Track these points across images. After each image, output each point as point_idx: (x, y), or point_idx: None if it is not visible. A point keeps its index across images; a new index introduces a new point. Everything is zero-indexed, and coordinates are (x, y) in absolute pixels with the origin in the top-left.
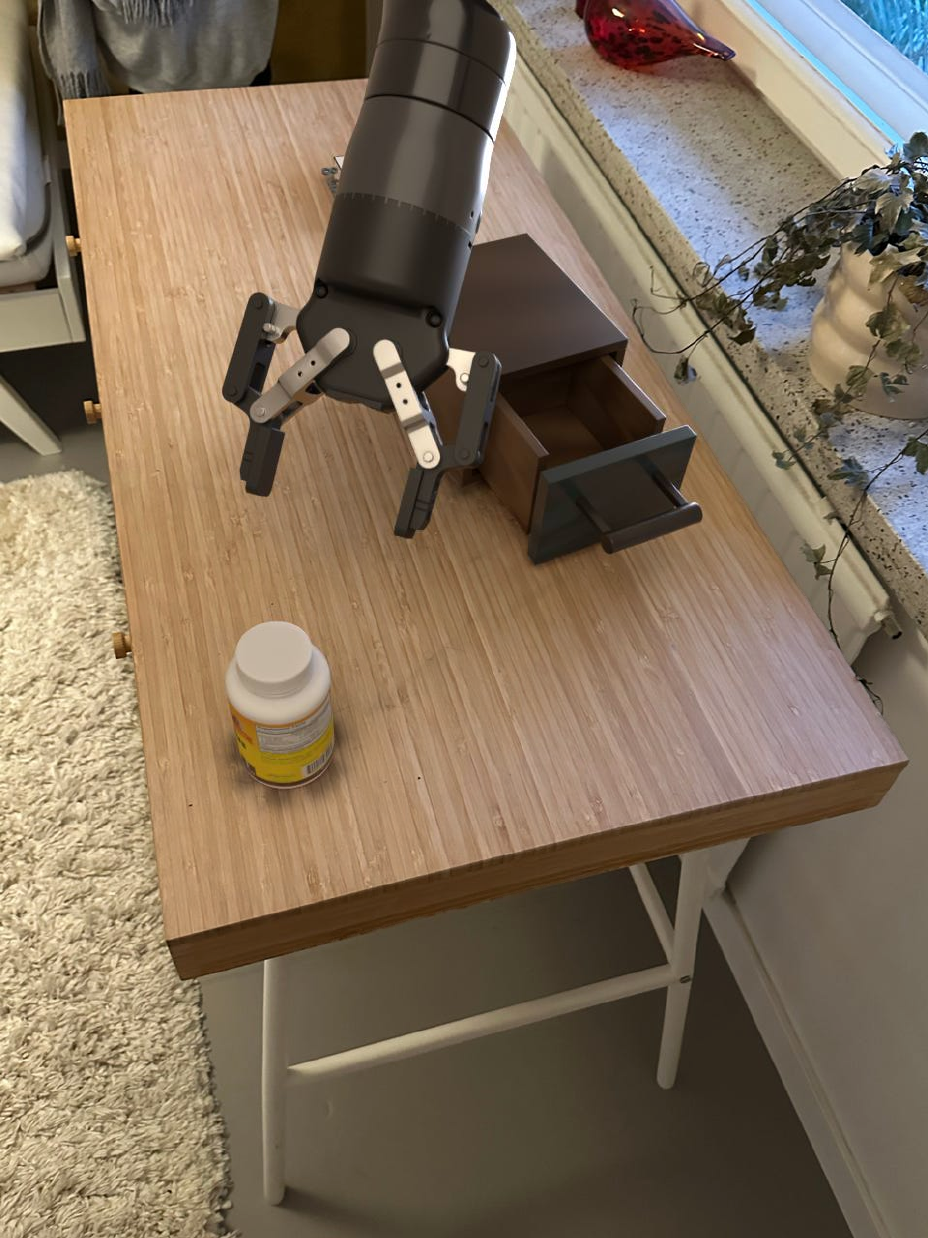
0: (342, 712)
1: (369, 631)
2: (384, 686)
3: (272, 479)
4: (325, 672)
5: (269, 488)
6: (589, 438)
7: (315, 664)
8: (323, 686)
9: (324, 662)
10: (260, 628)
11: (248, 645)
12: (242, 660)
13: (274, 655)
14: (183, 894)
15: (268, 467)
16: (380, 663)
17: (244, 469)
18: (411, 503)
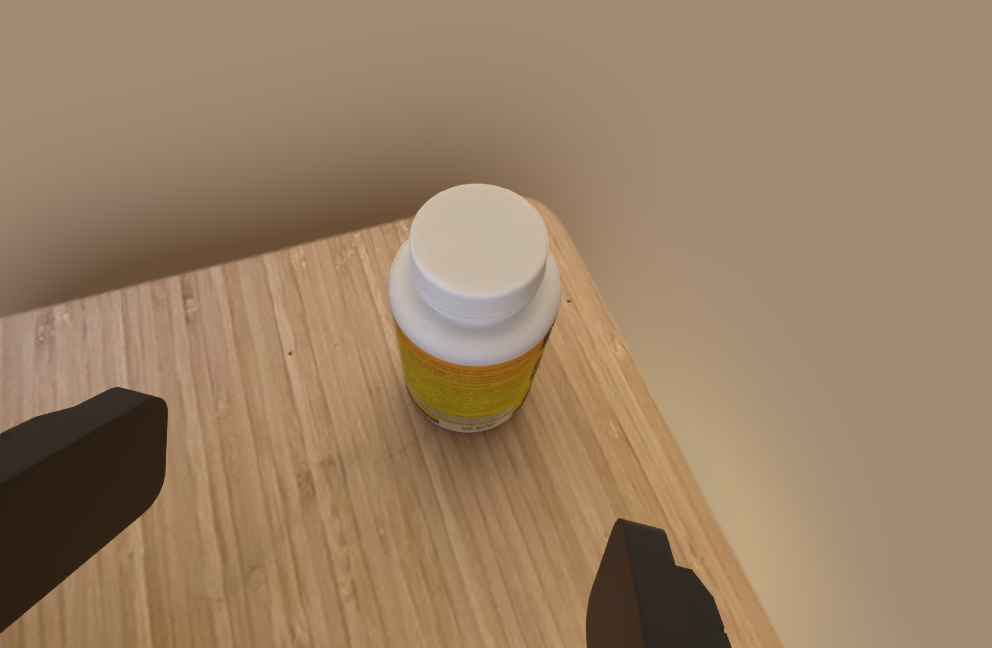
0: (400, 445)
1: (363, 621)
2: (336, 500)
3: (592, 645)
4: (394, 282)
5: (592, 616)
6: None
7: (412, 290)
8: (395, 259)
9: (397, 300)
10: (514, 274)
11: (527, 240)
12: (530, 213)
13: (476, 227)
14: (546, 214)
15: (614, 626)
16: (342, 547)
17: (695, 594)
18: (37, 430)
